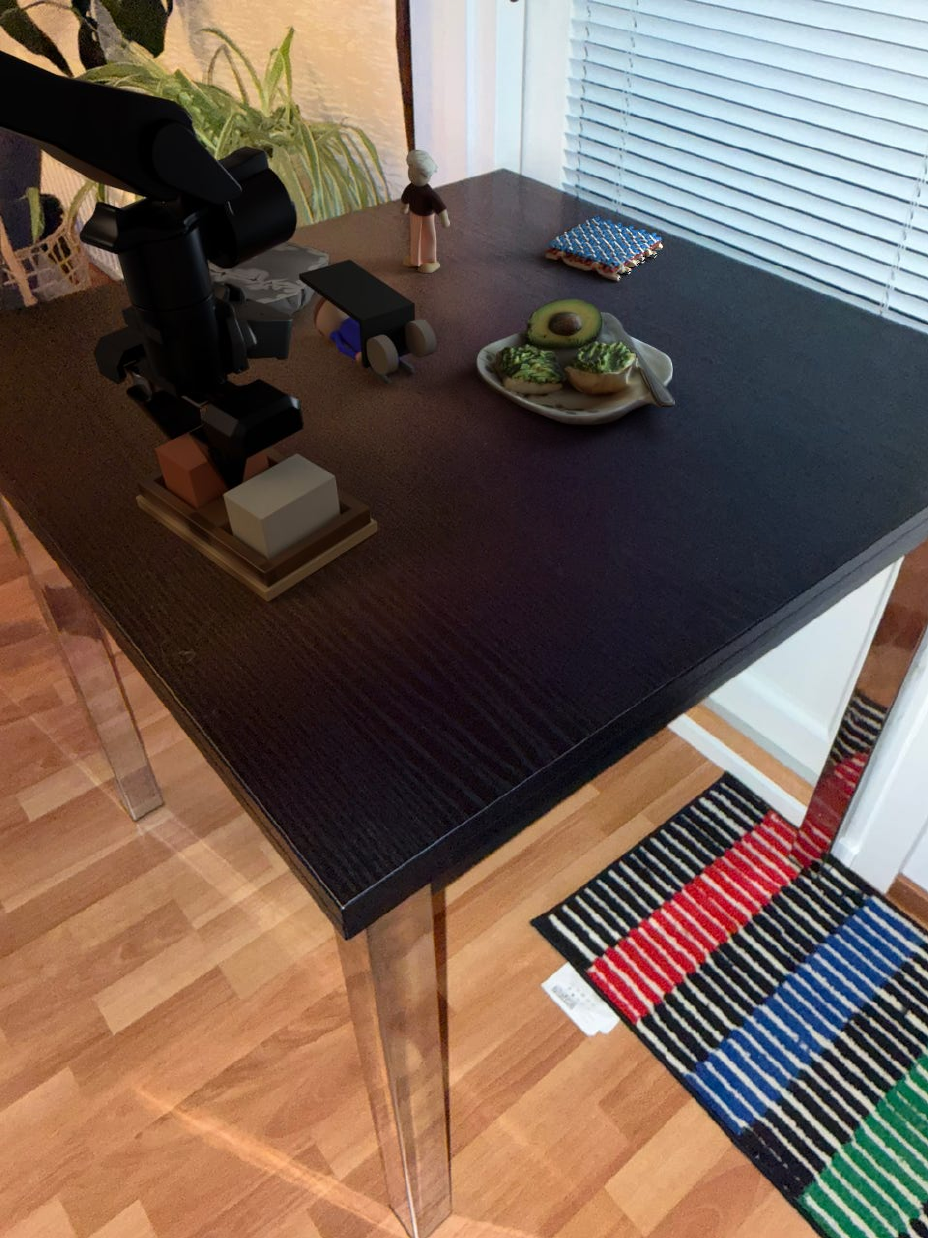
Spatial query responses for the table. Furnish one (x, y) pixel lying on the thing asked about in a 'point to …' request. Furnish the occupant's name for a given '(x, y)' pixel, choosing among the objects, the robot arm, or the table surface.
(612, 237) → the woven mat
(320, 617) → the table surface
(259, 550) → the cream block
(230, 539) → the wooden divided tray
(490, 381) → the salad plate
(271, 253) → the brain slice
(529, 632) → the table surface
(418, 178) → the grandmother figurine
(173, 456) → the orange rectangular block
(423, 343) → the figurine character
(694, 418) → the table surface
